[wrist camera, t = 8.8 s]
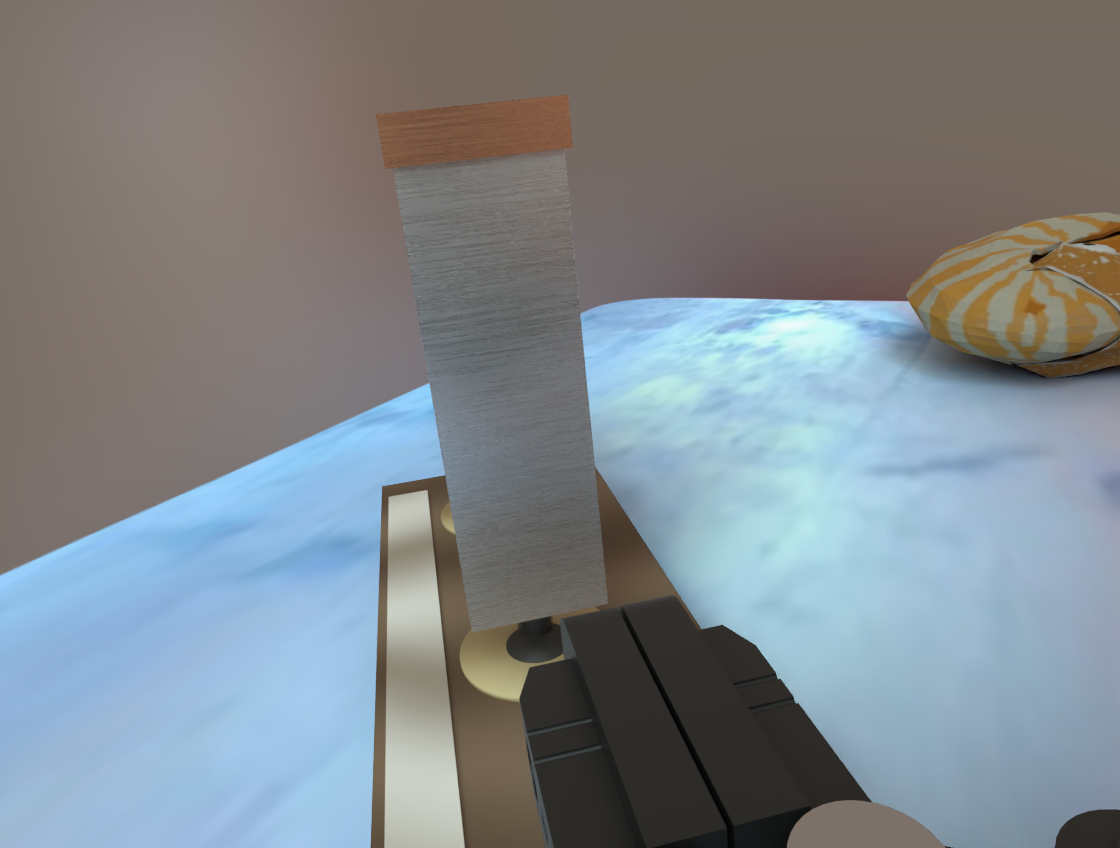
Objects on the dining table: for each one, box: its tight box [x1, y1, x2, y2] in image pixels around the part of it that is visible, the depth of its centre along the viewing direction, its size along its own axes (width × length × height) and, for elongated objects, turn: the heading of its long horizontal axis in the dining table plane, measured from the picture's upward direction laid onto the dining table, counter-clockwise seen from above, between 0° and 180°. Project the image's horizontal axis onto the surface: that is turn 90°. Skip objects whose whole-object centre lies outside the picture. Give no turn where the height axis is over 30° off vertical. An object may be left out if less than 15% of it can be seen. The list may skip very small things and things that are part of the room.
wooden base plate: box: [371, 467, 701, 848], centre depth 20 cm, size 27×9×14 cm, turn 12°
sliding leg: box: [376, 95, 608, 637], centre depth 19 cm, size 4×4×13 cm
